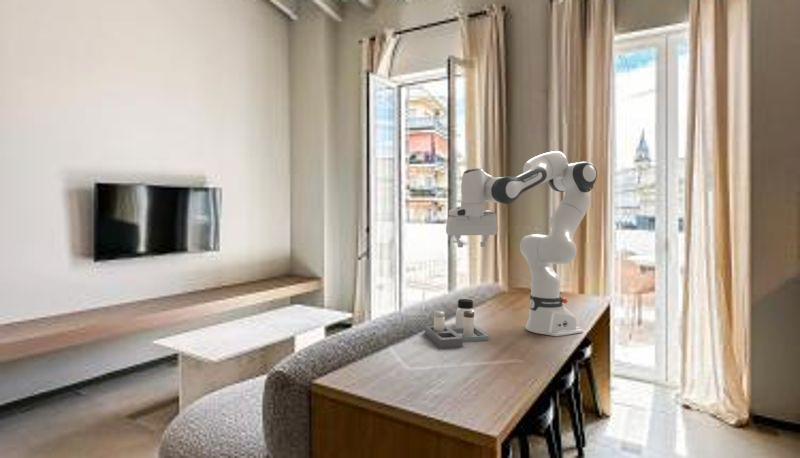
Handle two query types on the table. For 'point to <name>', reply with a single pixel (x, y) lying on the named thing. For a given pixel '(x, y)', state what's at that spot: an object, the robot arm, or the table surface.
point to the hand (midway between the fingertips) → (471, 247)
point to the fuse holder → (443, 338)
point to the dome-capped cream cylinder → (439, 320)
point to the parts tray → (471, 338)
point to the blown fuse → (468, 324)
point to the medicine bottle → (462, 311)
